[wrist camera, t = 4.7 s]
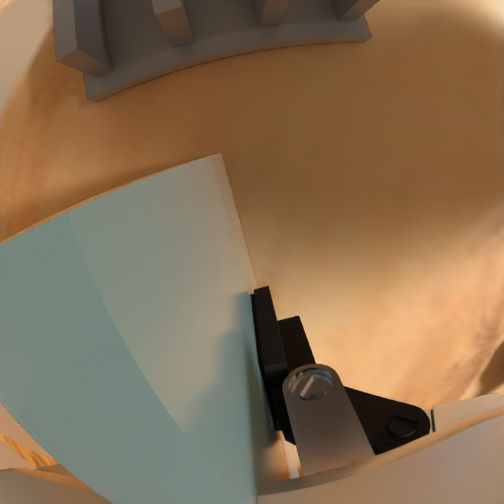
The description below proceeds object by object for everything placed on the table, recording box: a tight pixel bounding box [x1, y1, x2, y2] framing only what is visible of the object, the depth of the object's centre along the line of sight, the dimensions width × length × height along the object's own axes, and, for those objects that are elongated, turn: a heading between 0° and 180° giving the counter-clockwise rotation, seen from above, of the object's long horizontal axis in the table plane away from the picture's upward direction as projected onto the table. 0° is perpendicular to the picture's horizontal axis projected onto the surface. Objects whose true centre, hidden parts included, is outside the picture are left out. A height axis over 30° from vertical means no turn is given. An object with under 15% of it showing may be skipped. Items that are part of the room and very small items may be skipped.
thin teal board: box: [0, 153, 299, 504], centre depth 9 cm, size 2×12×13 cm, turn 14°
